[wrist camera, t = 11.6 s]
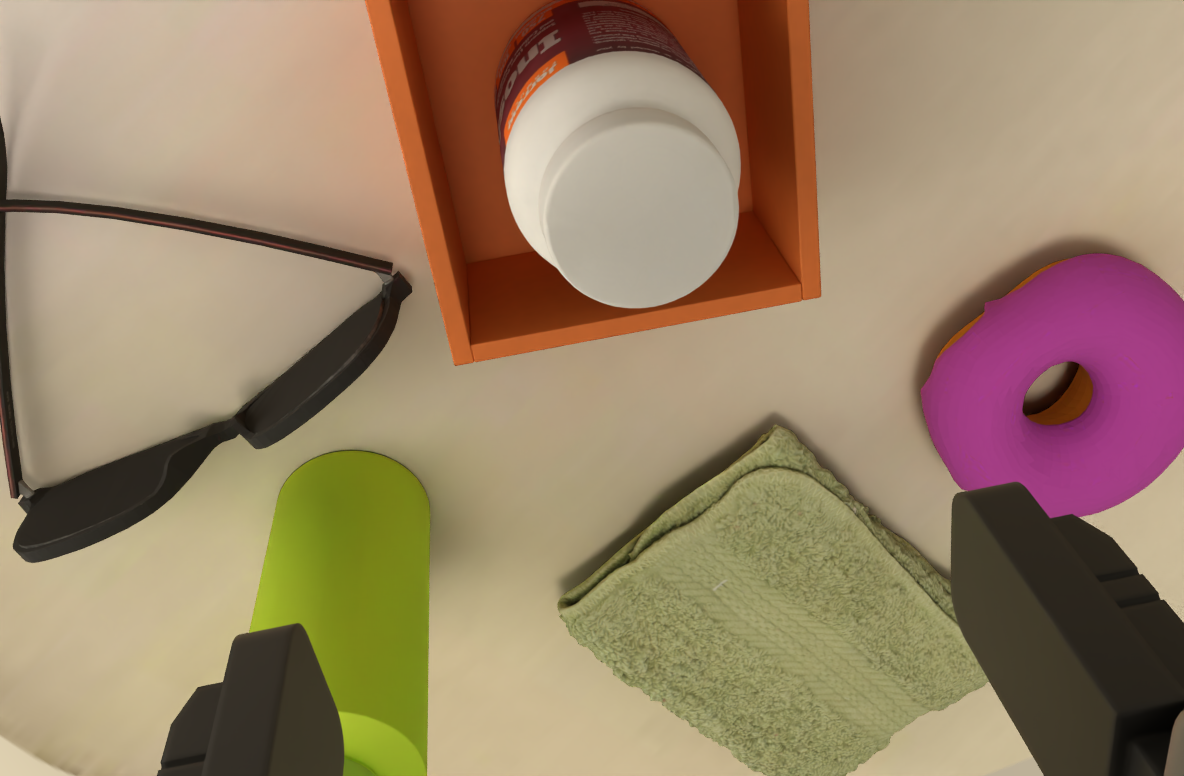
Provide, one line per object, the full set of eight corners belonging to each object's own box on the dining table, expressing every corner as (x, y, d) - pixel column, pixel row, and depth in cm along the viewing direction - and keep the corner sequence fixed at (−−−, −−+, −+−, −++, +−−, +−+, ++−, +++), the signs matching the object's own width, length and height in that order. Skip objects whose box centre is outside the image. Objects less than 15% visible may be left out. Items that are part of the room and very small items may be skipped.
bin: (742, -129, 33) (804, -104, 27) (766, 216, 39) (822, 297, 33) (373, -64, 33) (358, -24, 27) (452, 275, 38) (454, 366, 33)
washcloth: (768, 396, 43) (791, 441, 40) (1008, 619, 50) (1041, 670, 47) (531, 595, 46) (536, 649, 43) (788, 775, 54) (807, 831, 51)
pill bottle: (509, -30, 33) (536, 61, 24) (705, 8, 34) (806, 109, 25) (478, 167, 36) (491, 319, 27) (659, 196, 37) (734, 350, 28)
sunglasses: (152, -69, 32) (107, -39, 28) (433, 306, 39) (432, 376, 35) (-273, 225, 35) (-373, 293, 30) (62, 525, 42) (19, 615, 37)
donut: (1101, 192, 40) (1173, 241, 36) (1204, 373, 44) (1278, 434, 41) (863, 361, 42) (906, 424, 38) (985, 516, 47) (1034, 586, 43)
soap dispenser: (432, 588, 45) (428, 1102, 28) (262, 555, 43) (146, 1084, 26) (474, 475, 43) (497, 964, 26) (295, 434, 41) (191, 933, 24)
